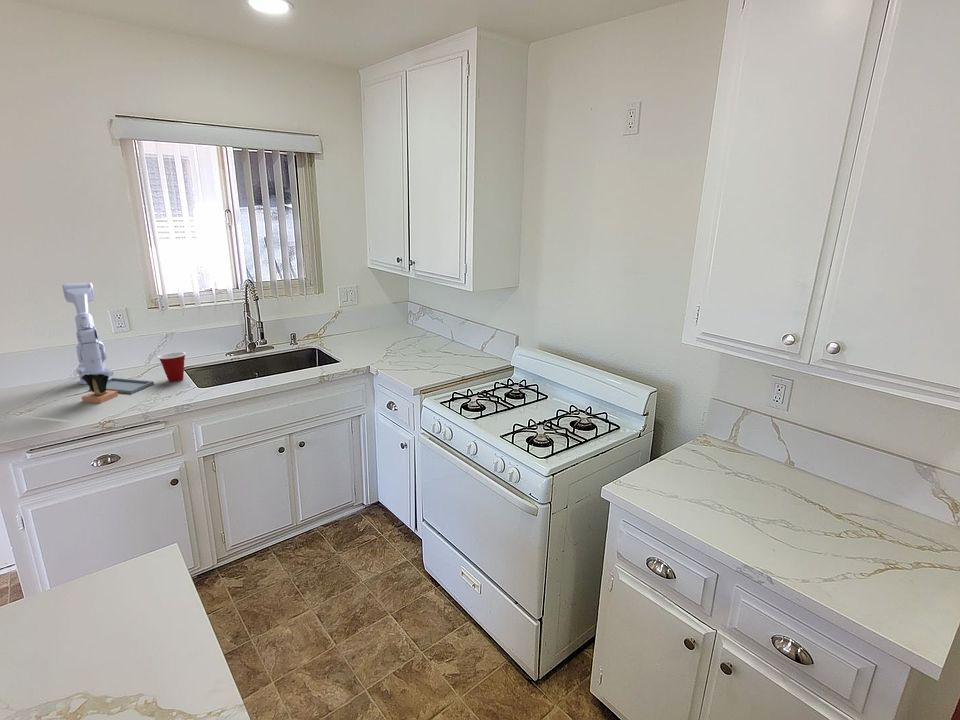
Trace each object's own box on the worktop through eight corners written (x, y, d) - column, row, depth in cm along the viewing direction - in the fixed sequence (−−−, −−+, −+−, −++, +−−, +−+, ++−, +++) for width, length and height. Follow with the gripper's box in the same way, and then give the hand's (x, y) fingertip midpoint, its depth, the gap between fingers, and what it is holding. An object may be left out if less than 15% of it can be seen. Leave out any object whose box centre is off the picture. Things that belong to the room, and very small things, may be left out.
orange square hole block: (82, 402, 206) (81, 396, 205) (100, 395, 214) (99, 389, 213) (101, 404, 205) (99, 398, 204) (118, 396, 213) (117, 391, 212)
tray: (89, 390, 218) (88, 386, 217) (113, 381, 229) (112, 377, 229) (132, 395, 215) (131, 390, 214) (154, 385, 226) (153, 381, 226)
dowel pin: (94, 399, 208) (90, 380, 206) (100, 396, 211) (96, 378, 209) (100, 400, 208) (96, 381, 205) (106, 397, 210) (103, 378, 208)
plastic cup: (183, 374, 240) (179, 349, 237) (193, 379, 234) (190, 354, 230) (157, 379, 232) (153, 354, 229) (167, 385, 226) (163, 359, 222)
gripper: (67, 360, 202) (74, 393, 206) (100, 363, 199) (106, 396, 204) (83, 355, 208) (89, 387, 212) (115, 358, 206) (121, 390, 210)
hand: (99, 391), depth 208 cm, fingers closed on dowel pin, 3 cm apart
